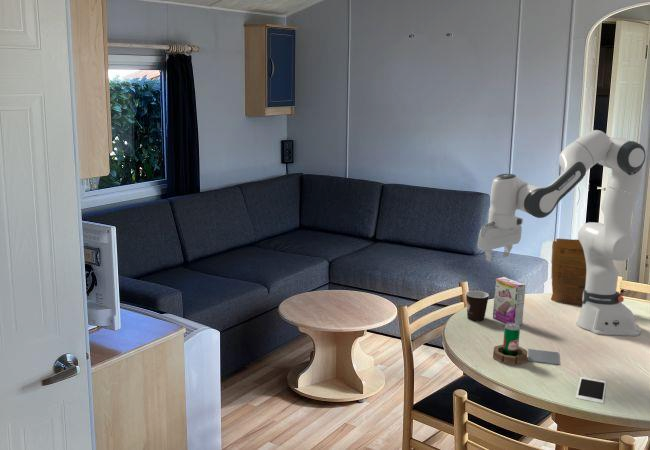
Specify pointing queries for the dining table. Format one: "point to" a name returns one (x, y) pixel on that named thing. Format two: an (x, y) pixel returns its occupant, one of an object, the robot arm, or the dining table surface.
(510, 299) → the candy bar box
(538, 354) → the coaster
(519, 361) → the walnut ring
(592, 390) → the cell phone
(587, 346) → the dining table surface
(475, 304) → the coffee mug
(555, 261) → the pancake mix bag
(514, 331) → the soda can
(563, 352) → the dining table surface
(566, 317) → the dining table surface
